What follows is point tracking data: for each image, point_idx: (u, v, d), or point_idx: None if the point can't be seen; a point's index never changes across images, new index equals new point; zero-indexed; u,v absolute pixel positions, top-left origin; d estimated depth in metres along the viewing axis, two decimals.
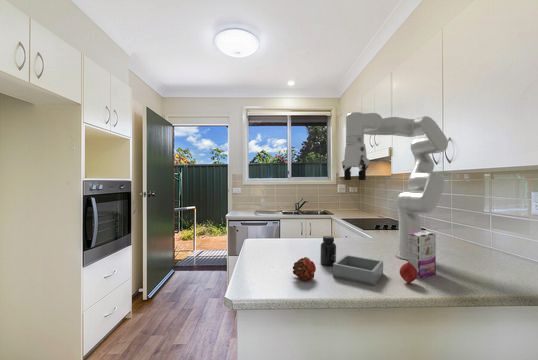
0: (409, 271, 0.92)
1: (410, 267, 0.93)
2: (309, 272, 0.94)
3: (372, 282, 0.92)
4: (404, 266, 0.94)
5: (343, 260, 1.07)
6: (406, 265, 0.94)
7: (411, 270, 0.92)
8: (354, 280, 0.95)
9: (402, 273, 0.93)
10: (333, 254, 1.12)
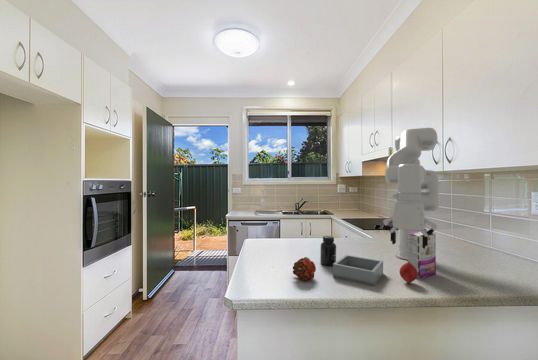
0: (409, 271, 0.92)
1: (410, 267, 0.93)
2: (309, 272, 0.94)
3: (372, 282, 0.92)
4: (404, 266, 0.94)
5: (343, 260, 1.07)
6: (406, 265, 0.94)
7: (411, 270, 0.92)
8: (354, 280, 0.95)
9: (402, 273, 0.93)
10: (333, 254, 1.12)
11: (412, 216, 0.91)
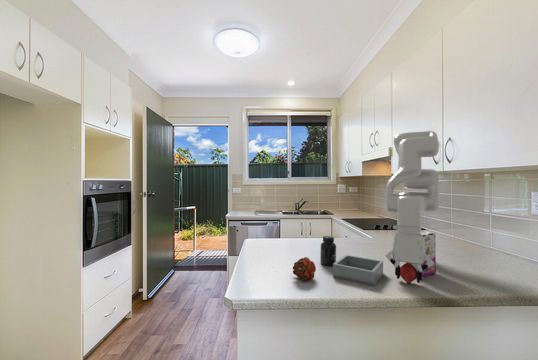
0: (409, 271, 0.92)
1: (410, 267, 0.93)
2: (309, 272, 0.94)
3: (372, 282, 0.92)
4: (404, 266, 0.94)
5: (343, 260, 1.07)
6: (406, 265, 0.94)
7: (411, 270, 0.92)
8: (354, 280, 0.95)
9: (402, 273, 0.93)
10: (333, 254, 1.12)
11: (412, 249, 0.91)
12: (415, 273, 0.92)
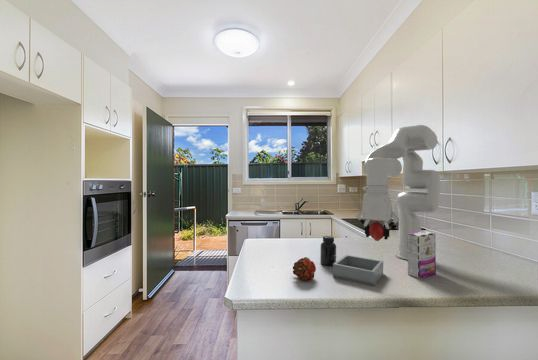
0: (377, 229, 0.96)
1: (378, 225, 0.97)
2: (309, 272, 0.94)
3: (372, 282, 0.92)
4: (373, 224, 0.98)
5: (343, 260, 1.07)
6: (374, 223, 0.98)
7: (379, 227, 0.96)
8: (354, 280, 0.95)
9: (371, 231, 0.98)
10: (333, 254, 1.12)
11: (379, 207, 0.96)
12: (383, 230, 0.96)
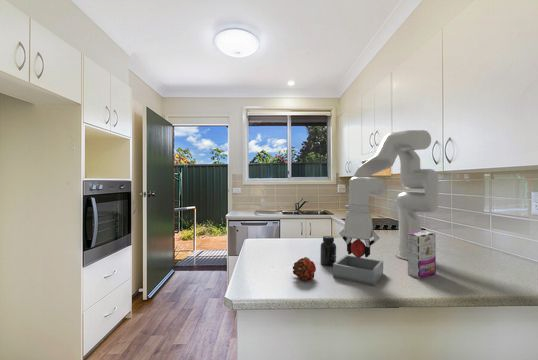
0: (358, 246, 0.99)
1: (359, 243, 1.00)
2: (309, 272, 0.94)
3: (372, 282, 0.92)
4: (354, 242, 1.01)
5: (343, 260, 1.07)
6: (356, 241, 1.01)
7: (360, 245, 0.99)
8: (354, 280, 0.95)
9: (352, 249, 1.01)
10: (333, 254, 1.12)
11: (360, 226, 0.99)
12: (363, 248, 0.99)
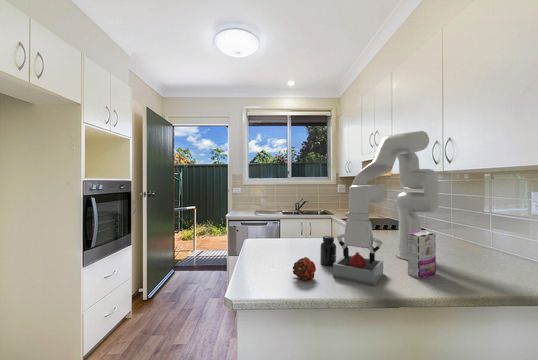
0: (357, 261, 1.00)
1: (358, 257, 1.00)
2: (309, 272, 0.94)
3: (372, 282, 0.92)
4: (353, 257, 1.02)
5: (343, 260, 1.07)
6: (355, 255, 1.01)
7: (359, 259, 1.00)
8: (354, 280, 0.95)
9: (351, 263, 1.01)
10: (333, 254, 1.12)
11: (360, 234, 0.99)
12: (362, 262, 1.00)
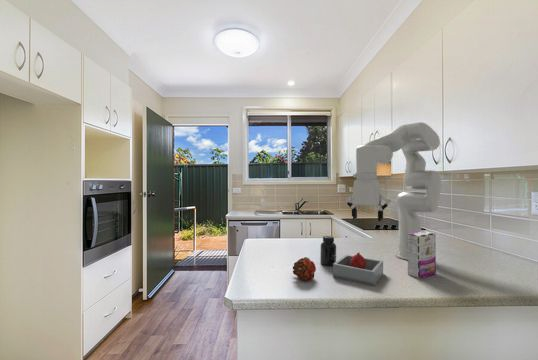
0: (358, 261, 0.99)
1: (359, 258, 1.00)
2: (309, 272, 0.94)
3: (372, 282, 0.92)
4: (354, 257, 1.01)
5: (343, 260, 1.07)
6: (356, 256, 1.01)
7: (360, 260, 1.00)
8: (354, 280, 0.95)
9: (352, 263, 1.01)
10: (333, 254, 1.12)
11: (368, 192, 1.00)
12: (363, 263, 0.99)
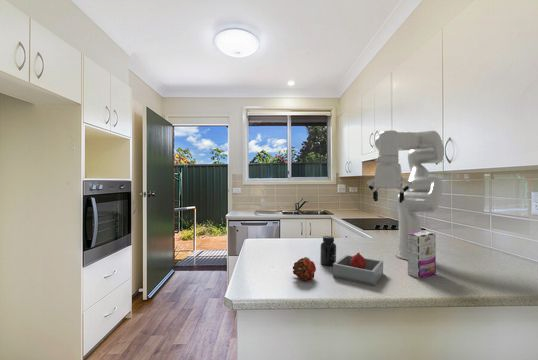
0: (358, 261, 0.99)
1: (359, 258, 1.00)
2: (309, 272, 0.94)
3: (372, 282, 0.92)
4: (354, 257, 1.01)
5: (343, 260, 1.07)
6: (356, 256, 1.01)
7: (360, 260, 1.00)
8: (354, 280, 0.95)
9: (352, 263, 1.01)
10: (333, 254, 1.12)
11: (390, 175, 1.05)
12: (363, 263, 0.99)
